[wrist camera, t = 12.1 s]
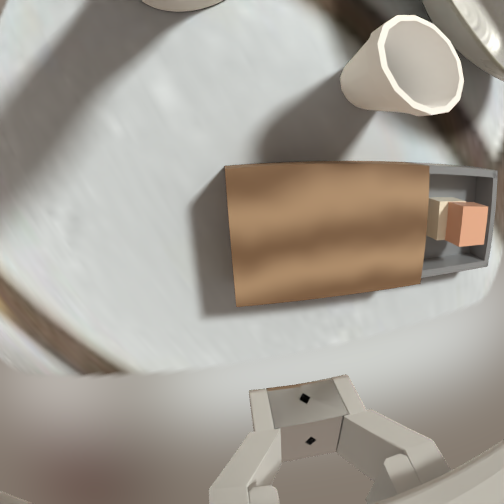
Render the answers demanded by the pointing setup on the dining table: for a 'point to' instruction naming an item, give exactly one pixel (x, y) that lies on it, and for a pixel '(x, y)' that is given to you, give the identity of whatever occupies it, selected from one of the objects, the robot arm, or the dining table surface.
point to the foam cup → (404, 70)
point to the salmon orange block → (466, 223)
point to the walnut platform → (325, 228)
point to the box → (470, 190)
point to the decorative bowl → (473, 30)
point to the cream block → (438, 216)
